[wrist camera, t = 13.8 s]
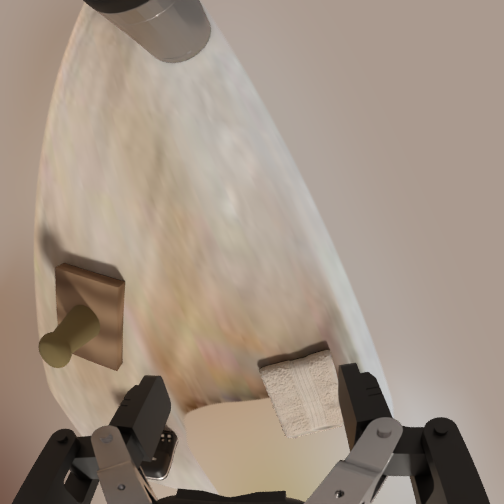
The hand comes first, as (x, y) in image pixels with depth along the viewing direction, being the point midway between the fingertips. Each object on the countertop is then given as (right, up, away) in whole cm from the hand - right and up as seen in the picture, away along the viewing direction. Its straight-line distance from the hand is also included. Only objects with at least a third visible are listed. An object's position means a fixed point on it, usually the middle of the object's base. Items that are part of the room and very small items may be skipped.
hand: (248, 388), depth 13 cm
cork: (-27, -5, +32) cm, 42 cm away
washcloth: (+9, -18, +37) cm, 42 cm away
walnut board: (-27, -5, +34) cm, 44 cm away
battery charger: (-18, -31, +41) cm, 55 cm away
